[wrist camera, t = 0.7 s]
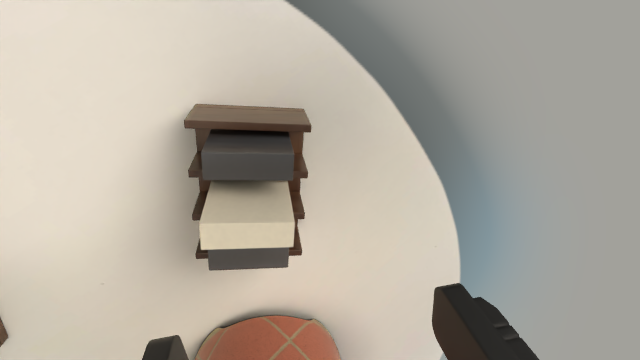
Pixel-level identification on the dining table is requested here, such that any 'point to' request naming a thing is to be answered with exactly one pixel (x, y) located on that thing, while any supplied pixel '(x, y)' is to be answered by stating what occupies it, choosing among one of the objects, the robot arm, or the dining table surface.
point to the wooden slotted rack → (2, 333)
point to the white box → (247, 215)
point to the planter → (270, 341)
